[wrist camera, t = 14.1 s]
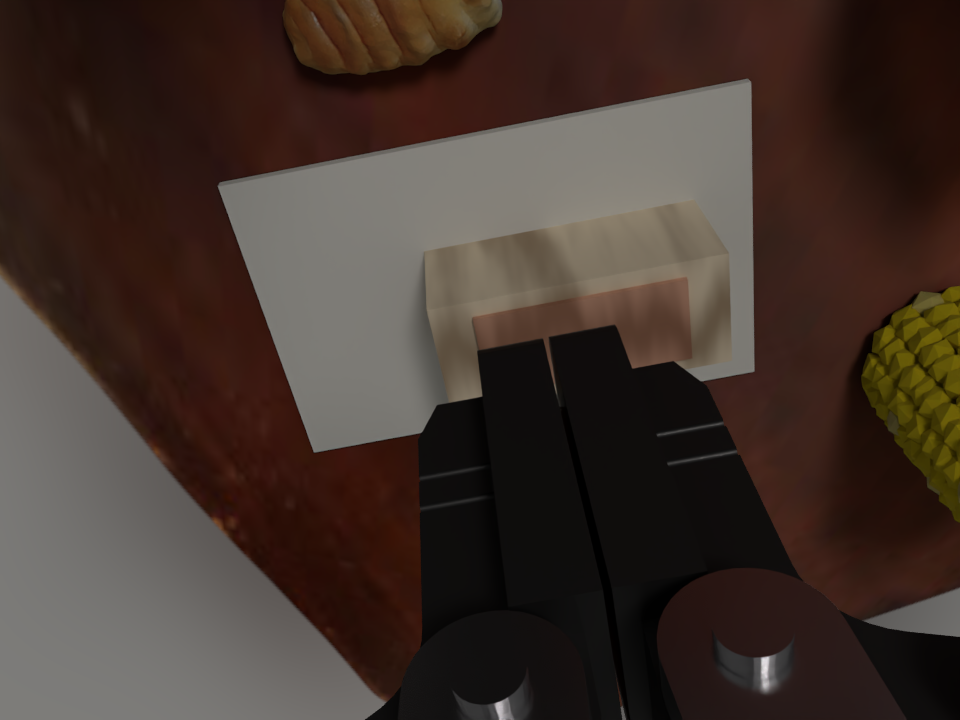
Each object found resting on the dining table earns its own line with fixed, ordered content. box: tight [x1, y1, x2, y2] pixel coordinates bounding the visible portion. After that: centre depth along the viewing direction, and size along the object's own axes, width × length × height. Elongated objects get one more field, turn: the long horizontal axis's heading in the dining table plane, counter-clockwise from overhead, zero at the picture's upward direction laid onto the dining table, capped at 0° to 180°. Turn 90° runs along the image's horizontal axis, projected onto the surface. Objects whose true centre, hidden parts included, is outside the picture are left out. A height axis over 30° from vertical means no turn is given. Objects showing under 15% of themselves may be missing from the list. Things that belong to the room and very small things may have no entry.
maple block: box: [424, 200, 732, 403], centre depth 46 cm, size 6×6×14 cm
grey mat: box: [218, 79, 754, 453], centre depth 49 cm, size 17×26×1 cm, turn 100°
